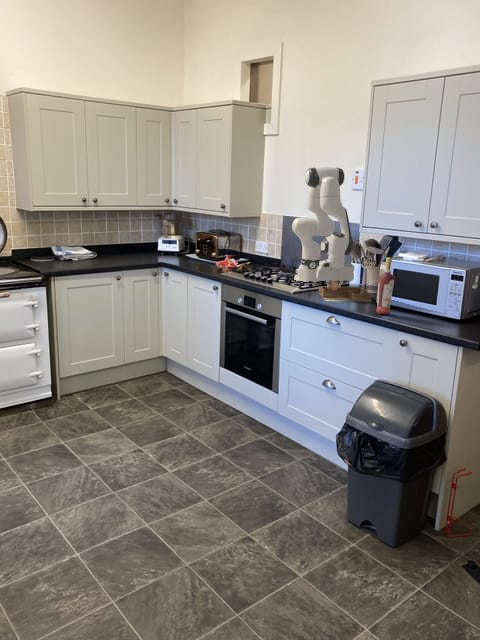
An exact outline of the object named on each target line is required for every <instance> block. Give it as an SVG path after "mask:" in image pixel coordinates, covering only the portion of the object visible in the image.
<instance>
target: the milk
mask: <svg viewBox="0 0 480 640" xmlns="http://www.w3.org/2000/svg"><path fill="white" fill-rule="evenodd" d="M385 267H386V261H381V262H380V268H379V274H378V277H379V276H380V275H381V274H384V272H385ZM378 288H379V281H378V284H377V289H378ZM375 300H376V301H375V302H376V303H377V304H378V290H377V291H376V299H375Z"/></svg>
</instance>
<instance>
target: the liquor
mask: <svg viewBox="0 0 480 640" xmlns="http://www.w3.org/2000/svg"><path fill="white" fill-rule="evenodd" d="M385 262H386V267H385V272H384V274H381V275H380V276H379V275H378V282H379V288H378V287H377V291H378V303H377V306H376V309H375V312H376V313H377V314H378V313H380V314H388V315H389V314H390V313H391V311H390V309H391V301H392V296H393V289H394V285H395V279H396V277H395V276H394V275H393V273H392V274H391V263H393V257H389V256H388V257H387V256H386V258H385ZM380 314H379V315H380Z"/></svg>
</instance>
